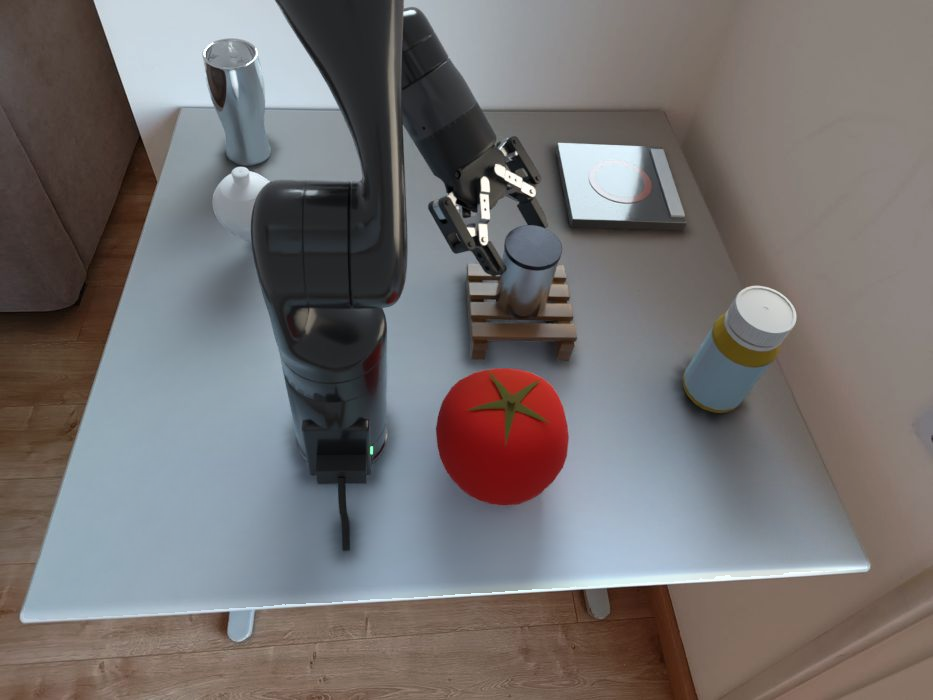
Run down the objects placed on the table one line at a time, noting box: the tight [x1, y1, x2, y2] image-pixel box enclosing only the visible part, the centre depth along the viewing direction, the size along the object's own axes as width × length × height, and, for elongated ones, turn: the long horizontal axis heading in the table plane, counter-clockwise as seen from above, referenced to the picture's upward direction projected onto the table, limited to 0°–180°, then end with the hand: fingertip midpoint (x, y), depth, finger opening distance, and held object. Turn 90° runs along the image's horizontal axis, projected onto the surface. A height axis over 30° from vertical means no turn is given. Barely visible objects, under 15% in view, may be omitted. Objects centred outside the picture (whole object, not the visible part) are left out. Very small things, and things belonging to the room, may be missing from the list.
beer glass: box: [201, 38, 272, 167], centre depth 93 cm, size 7×7×15 cm
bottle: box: [682, 285, 798, 414], centre depth 77 cm, size 7×7×15 cm
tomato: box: [435, 367, 570, 507], centre depth 70 cm, size 13×14×12 cm
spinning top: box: [211, 166, 271, 243], centre depth 85 cm, size 8×8×12 cm
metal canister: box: [495, 224, 563, 319], centre depth 80 cm, size 6×6×9 cm
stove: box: [555, 142, 688, 231], centre depth 101 cm, size 16×16×2 cm
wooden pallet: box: [465, 263, 578, 361], centre depth 85 cm, size 12×12×4 cm
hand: (520, 250), depth 78 cm, fingers open, 8 cm apart
